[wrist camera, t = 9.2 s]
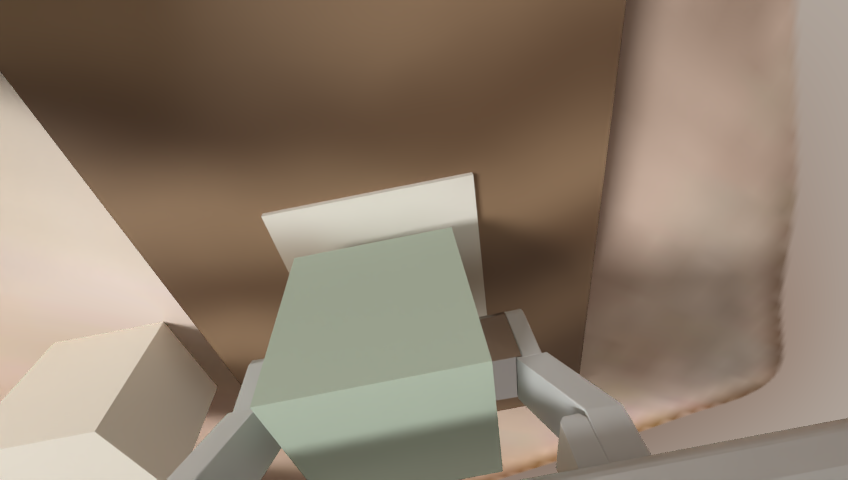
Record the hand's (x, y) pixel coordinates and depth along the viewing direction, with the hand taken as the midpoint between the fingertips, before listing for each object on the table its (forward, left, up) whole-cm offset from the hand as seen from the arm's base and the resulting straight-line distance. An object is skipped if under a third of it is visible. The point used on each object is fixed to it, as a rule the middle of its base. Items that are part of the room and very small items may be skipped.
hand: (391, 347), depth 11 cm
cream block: (+4, -13, -5) cm, 15 cm away
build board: (0, 0, -5) cm, 5 cm away
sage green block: (0, 0, -2) cm, 2 cm away
